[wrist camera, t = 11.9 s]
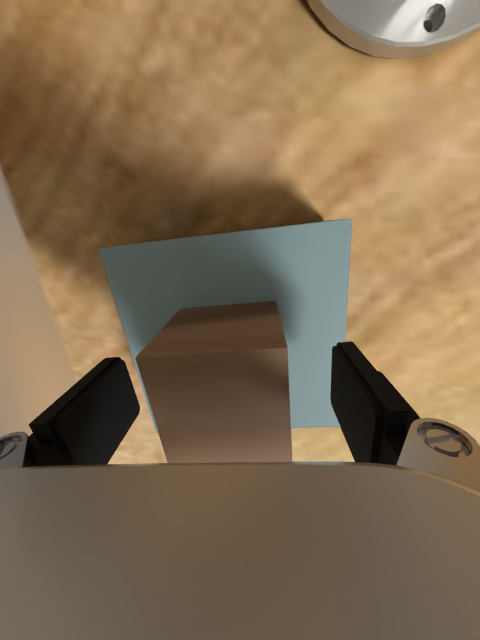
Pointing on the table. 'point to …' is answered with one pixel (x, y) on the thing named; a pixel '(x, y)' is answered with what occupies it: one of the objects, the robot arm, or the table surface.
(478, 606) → the robot arm
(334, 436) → the table surface
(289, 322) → the plinth block
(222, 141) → the table surface
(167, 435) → the walnut cube
